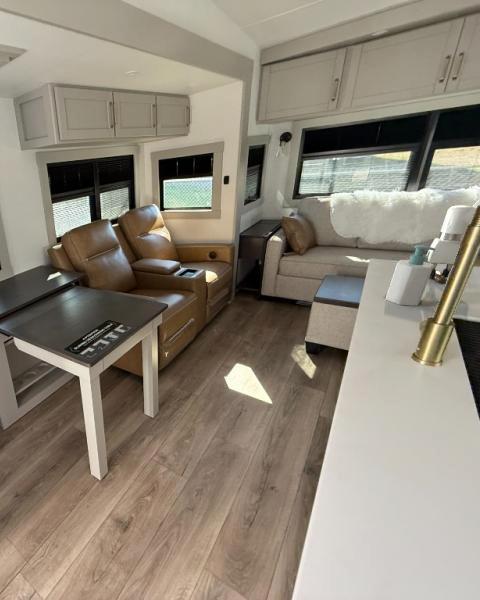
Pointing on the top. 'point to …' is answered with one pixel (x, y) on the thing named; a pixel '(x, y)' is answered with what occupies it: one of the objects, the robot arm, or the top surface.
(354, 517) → the top surface
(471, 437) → the top surface
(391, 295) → the soap bottle
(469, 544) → the top surface
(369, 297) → the top surface
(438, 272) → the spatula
